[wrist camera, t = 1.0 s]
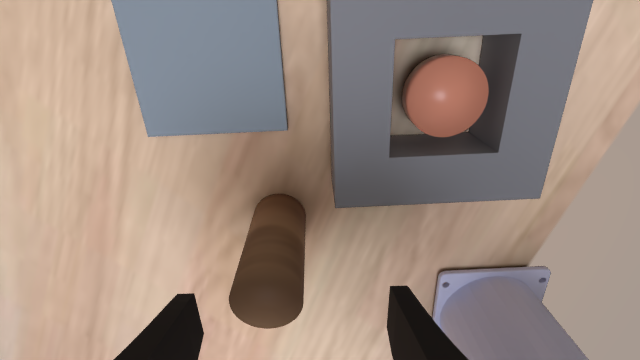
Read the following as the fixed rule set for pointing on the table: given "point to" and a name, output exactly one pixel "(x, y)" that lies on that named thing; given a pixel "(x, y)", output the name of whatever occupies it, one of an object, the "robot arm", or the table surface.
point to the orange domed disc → (445, 95)
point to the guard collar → (484, 135)
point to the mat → (205, 64)
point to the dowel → (271, 265)
